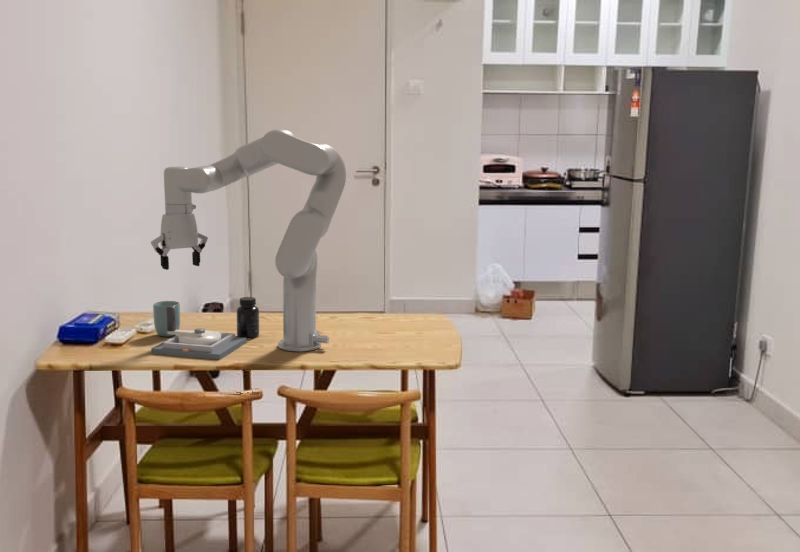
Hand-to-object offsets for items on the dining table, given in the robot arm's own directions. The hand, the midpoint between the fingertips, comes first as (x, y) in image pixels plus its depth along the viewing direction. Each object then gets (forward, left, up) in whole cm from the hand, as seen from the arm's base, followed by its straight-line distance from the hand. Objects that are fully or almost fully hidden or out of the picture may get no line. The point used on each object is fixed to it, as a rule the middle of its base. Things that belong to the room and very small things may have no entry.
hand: (181, 267), depth 230 cm
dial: (-6, +6, -21) cm, 22 cm away
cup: (+8, -4, -23) cm, 24 cm away
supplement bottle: (-16, -10, -23) cm, 30 cm away
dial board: (-8, +6, -23) cm, 25 cm away
